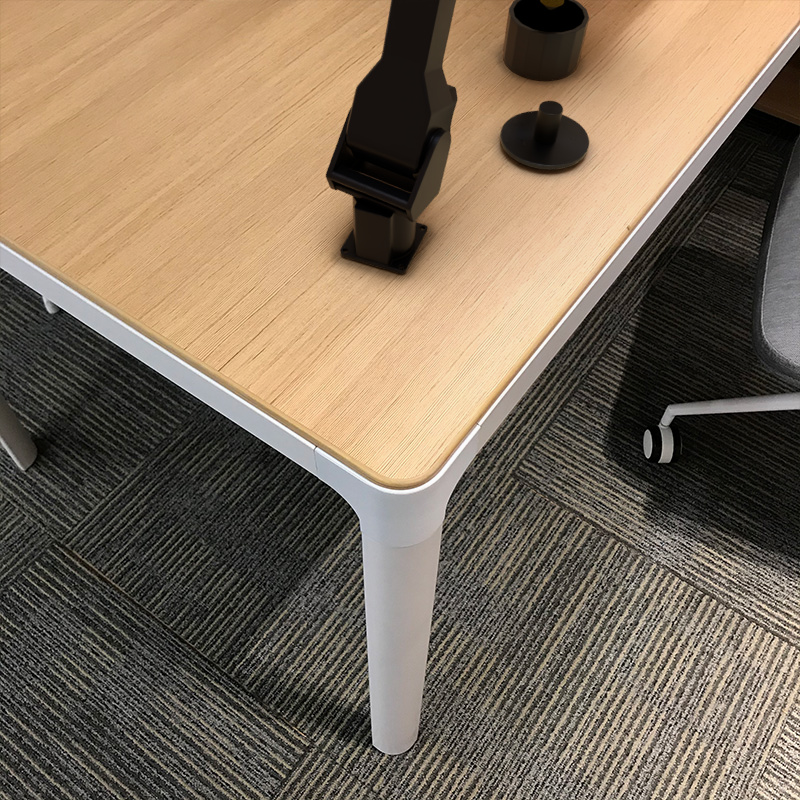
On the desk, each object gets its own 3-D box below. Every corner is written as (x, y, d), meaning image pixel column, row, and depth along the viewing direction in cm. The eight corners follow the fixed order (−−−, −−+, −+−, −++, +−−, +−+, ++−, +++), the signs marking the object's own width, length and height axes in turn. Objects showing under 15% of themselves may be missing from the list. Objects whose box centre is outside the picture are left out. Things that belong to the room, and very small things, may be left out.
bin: (567, 88, 87) (578, 41, 82) (493, 70, 88) (499, 23, 84) (585, 48, 92) (596, 2, 87) (514, 32, 93) (521, -14, 89)
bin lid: (575, 183, 77) (585, 145, 74) (488, 160, 79) (493, 122, 75) (595, 131, 82) (606, 93, 79) (513, 111, 84) (519, 72, 80)
